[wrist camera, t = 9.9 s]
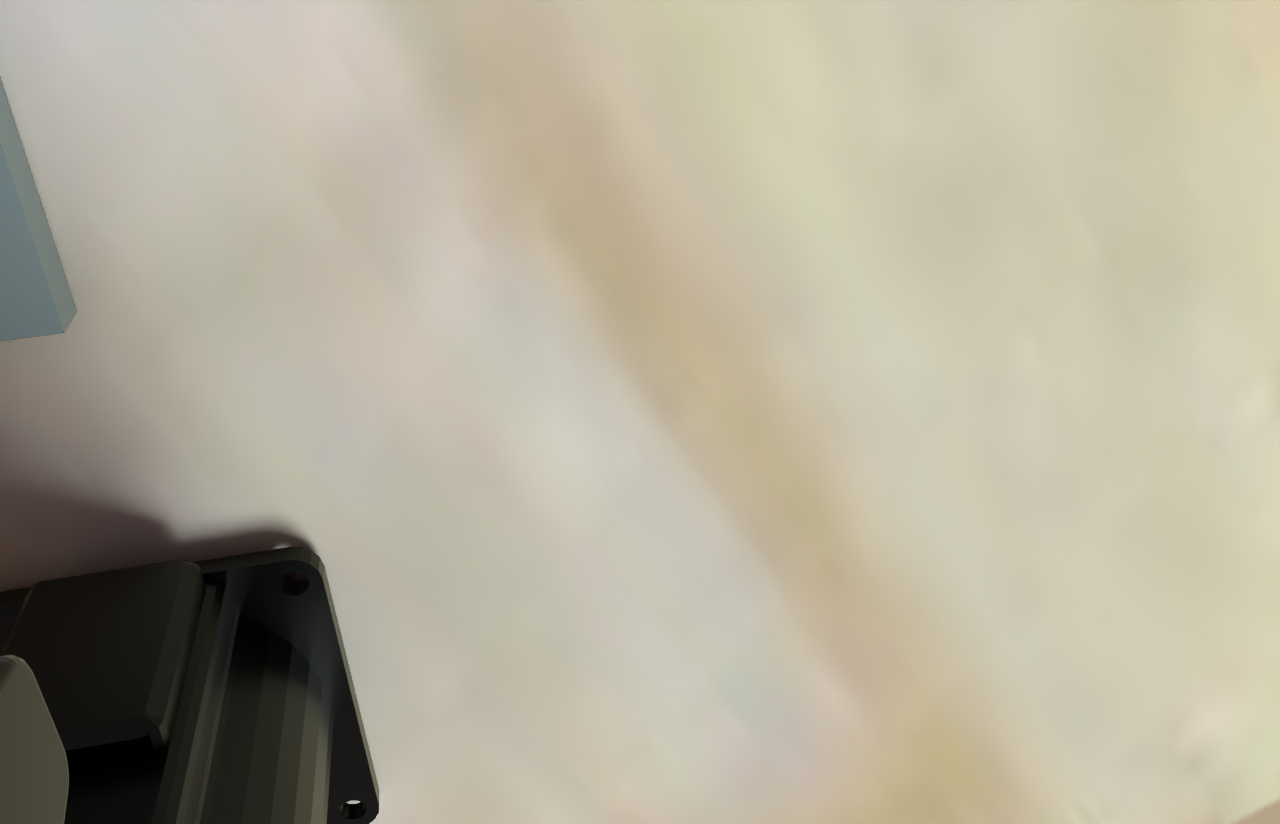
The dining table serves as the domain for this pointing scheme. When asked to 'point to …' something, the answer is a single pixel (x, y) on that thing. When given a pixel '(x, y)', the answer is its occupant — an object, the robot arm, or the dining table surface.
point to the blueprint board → (26, 248)
